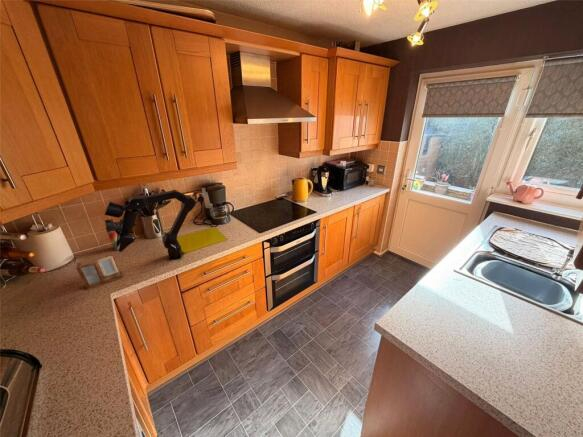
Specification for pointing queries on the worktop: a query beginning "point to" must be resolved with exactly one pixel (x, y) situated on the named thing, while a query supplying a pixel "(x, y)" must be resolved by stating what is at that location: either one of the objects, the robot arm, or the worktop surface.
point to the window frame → (94, 275)
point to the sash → (107, 266)
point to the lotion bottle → (112, 236)
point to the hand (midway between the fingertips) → (118, 248)
